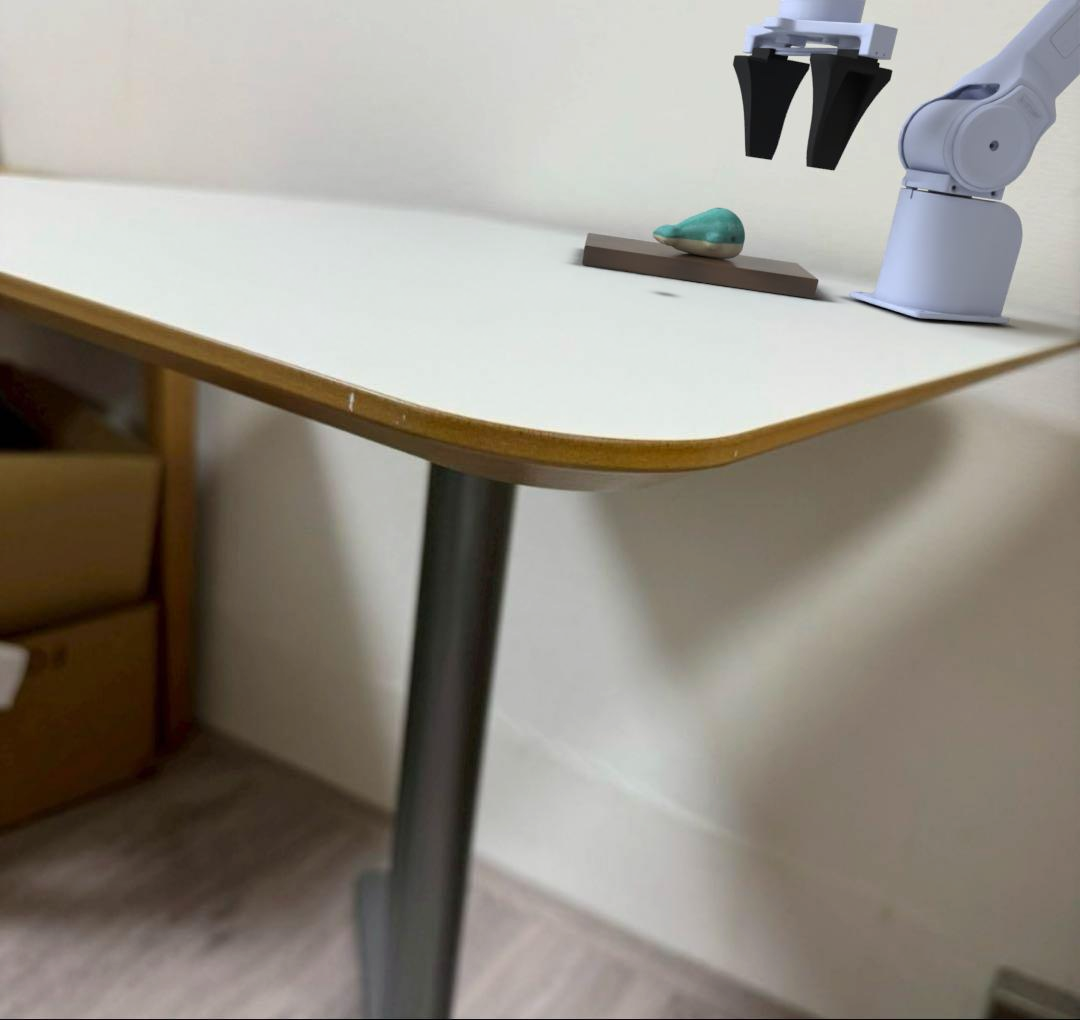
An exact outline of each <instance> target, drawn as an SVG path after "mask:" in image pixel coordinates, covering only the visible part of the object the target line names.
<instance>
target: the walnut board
mask: <svg viewBox="0 0 1080 1020" xmlns="http://www.w3.org/2000/svg"><path fill="white" fill-rule="evenodd" d="M582 253H583V254H582V262H581V265H582V266H588V267H594V268H601V269H608V270H614V271H620V272H627V273H635V274H641V275H646V276H647V275H649V276H655V277H661V278H667V279H676V280H681V281H689V282H695V283H703V284H710V285H717V286H722V287H731V288H736V289H743V290H751V291H756V292H757V291H758V292H762V293H763V292H764V293H770V294H777V295H783V296H784V295H785V296H791V297H797V298H805V299H811V300H814V299H815V298H816V294H817V290H818V286H819V279H818V278H817V277H816V276H815V275H813V274H812V273H810V272H809V271H808V270H807V269H805V267H804V266H802V265H800V264H799V263H798V262H792V261H785V260H779V259H771V258H765V257H758V256H751V255H744V254H739V255H738V256H736V257H734V258H729V259H718V258H710V257H704V256H699V255H694V254H690V253H687V252H683V251H680V250H677V249H675V248H673V247H672V246H667V245H665V244H662V243H659V242H657V241H656V242H655V241H649V240H641V239H634V238H627V237H621V236H613V235H607V234H601V233H593V232H588V233H587V234H586V239H585V243H584V248H583V252H582Z"/></svg>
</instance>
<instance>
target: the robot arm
mask: <svg viewBox="0 0 1080 1020" xmlns="http://www.w3.org/2000/svg"><path fill="white" fill-rule="evenodd" d="M866 1H867V0H780V3H779V8H778V13H777V16H766V17H764V20H763V23H760V24H751V25H749V24H748V25H747V29H746V34H745V38H744V39H745V40H744V45H743V48H742V49H743V50H742V53H743V54H748V55H743V54H737V55H734V57H733V61H732V66H733V69H734V72H735V74H736V78H737V81H738V85H739V89H740V94H741V101H742V109H743V124H744V125H743V126H744V127H743V128H744V152H745V153H744V154H745V157H748V158H754V159H762V160H768V161H772V160H773V158H774V156H775V154H776V151H777V149H778V146H779V142H780V140H781V137H782V132H783V130H784V129H783V128H784V125H785V122H786V118H787V116H788V115H787V114H788V112H789V109H790V107H791V104H792V102H793V99H794V97H795V95H796V92H797V91H798V89H799V87H800V85H801V83H802V82H803V80H804V78H805V76H806V75H807V73H808V72H809V70H810V71H811V82H812V105H811V106H812V109H811V119H810V125H809V131H808V137H807V146H806V154H805V155H806V156H805V160H806V163H805V164H806V167H807V168H813V169H819V170H825V171H826V170H827V171H832V172H835V170H836V168H837V166H838V165H839V163H840V160H841V158H842V157H843V155H844V152H845V150H846V148H847V146H848V144H849V142H850V140H851V138H852V136H853V134H854V132H855V130H856V128H857V126H858V124H859V123H860V121H861V120H862V118H863V116H864V114H865V113H866V112H867V110H868V109H869V107H870V106H871V104H872V103H873V102H874V101H875V99H876V98H877V96H878V95H879V94H880V92H882V90H884V88H885V87H886V86H887V85H888V84H889V83H890V82H891V80H892V76H893V69H890V68H886V67H881V66H880V65H881V63H880V62H879V60H880V61H890V60H892V55H893V52H894V51H893V50H894V48H895V44H896V39H897V35H898V29H899V28H897V27H893V26H889V25H884V24H879V23H873V22H872V23H869V22H867V23H866V22H865V23H863V22H862V20H863V15H864V10H865V7H866V6H865V5H866ZM807 44H808V45H809V44H812V45H824V46H825V45H826V46H832V47H806V45H807ZM789 57H809V63H808V62H803V61H797V60H794V59H789ZM1079 76H1080V0H1049V1H1048V2H1047V3H1045V5H1044V6H1043V7H1042V8H1041V9H1040V10H1039V11H1038V12H1037V13H1036V14H1035V15H1034V16H1033V17H1032V18H1031V19H1030V20H1029V21H1028V23H1026V25H1025V26H1024V27H1023V28H1022V29H1021V30H1020V31H1019V32H1018V33H1016V35H1015V36H1014V37H1013V38H1012V39H1011V41H1010V42H1008V43H1007V44H1006V46H1004V48H1002V49H1001V51H1000V52H999V53H998V54H997V55H995V56H994V57H993V58H991V59H989V60H988V61H986V62H985V63H983V64H981V65H980V66H978V67H976V68H975V69H973V70H971V71H970V72H969V73H967V74H965V75H964V76H962V77H961V78H959V79H958V80H957V81H956V83H954V84H953V85H952V86H951V87H950V88H949V89H948V90H947V91H946V92H945V93H943V94H941V95H939V96H936V97H934V98H932V99H928V100H926V101H924V102H922V103H921V104H919V105H918V106H916V107H915V108H914V109H913V110H912V112H911V113H909V115H908V116H907V117H906V119H905V120H904V122H903V124H902V126H901V129H900V131H899V135H898V140H897V152H898V157H899V162H900V163H901V165H902V167H903V169H904V170H905V175H904V176H903V178H902V180H901V182H900V185H901V186H904V187H900V188H899V191H898V195H897V199H896V203H895V208H894V211H893V212H894V213H893V216H892V219H891V220H892V221H891V223H890V224H891V225H890V228H889V233H888V237H887V241H886V245H885V249H884V252H883V257H882V261H881V265H880V268H879V273H878V277H877V282H876V285H875V290H874V292H869V291H855V290H851V291H849V295H848V296H849V297H850V298H853V299H855V300H858V301H863V302H866V303H869V304H871V305H874V306H877V307H881V308H885V309H887V310H891V311H894V312H897V313H900V314H903V315H906V316H910V317H912V318H918V319H929V320H943V321H959V322H960V321H961V322H974V323H989V324H1003V325H1004V324H1005V325H1006V324H1009V320H1010V318H1009V317H1007V316H1003V315H1002V313H1003V311H1004V306H1005V303H1006V299H1007V297H1008V293H1009V290H1010V289H1009V288H1010V285H1011V282H1012V279H1013V275H1014V272H1015V269H1016V265H1017V261H1018V258H1019V254H1020V251H1021V247H1022V243H1023V233H1024V232H1023V225H1022V220H1021V217H1020V215H1019V213H1018V212H1017V211H1016V210H1015V209H1014V208H1013V207H1012V206H1010V205H1009V204H1007V203H1004V202H1002V200H1003V197H1004V193H1005V191H1006V187H1008V186H1009V185H1010V184H1012V183H1013V182H1015V181H1016V180H1017V179H1018V178H1019V177H1020V176H1022V174H1023V172H1024V171H1025V170H1026V168H1027V166H1028V165H1029V163H1030V161H1031V158H1032V157H1033V153H1034V151H1035V149H1036V146H1037V145H1038V143H1039V142H1040V140H1041V138H1042V137H1043V136H1044V135H1045V134H1046V132H1047V131H1048V130H1049V129H1050V128H1052V126H1053V125H1054V124H1055V123H1056V120H1057V108H1056V107H1057V106H1056V100H1057V98H1058V97H1059V96H1060V95H1061V94H1062V93H1063V92H1064V91H1065V90H1066V89H1067V88H1068V87H1069V86H1070V85H1071V84H1072V83H1073V82H1074V81H1075V80H1076V79H1077V78H1078V77H1079Z"/></svg>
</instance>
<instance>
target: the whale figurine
mask: <svg viewBox="0 0 1080 1020" xmlns="http://www.w3.org/2000/svg"><path fill="white" fill-rule="evenodd" d="M652 238H653V239H655V240H656V242H657V243H662V244H665V245H667V246H672V247H673V248H675V249H677V250H680V251H683V252H687V253H690V254H694V255H699V256H704V257H710V258H718V259H729V258H734V257H736V256H738V255H741V253H742V252H743V249H744V245H745V241H746V232H745V226H744V223H743V222H742V220H741V218H740V217H739V216H738V215H737V214H736V213H734V212H733V211H731V209H728V208H724V207H712V208H710V209H707V210H705V211H702V212H699V213H697V214H694V215H692V216H690V217H688V218H686V219H684V220H682V221H680V222H678V223H677V224H673V225H672V224H663V225H660V226H659V227H656V228H655V229H654V230H653V232H652Z"/></svg>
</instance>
